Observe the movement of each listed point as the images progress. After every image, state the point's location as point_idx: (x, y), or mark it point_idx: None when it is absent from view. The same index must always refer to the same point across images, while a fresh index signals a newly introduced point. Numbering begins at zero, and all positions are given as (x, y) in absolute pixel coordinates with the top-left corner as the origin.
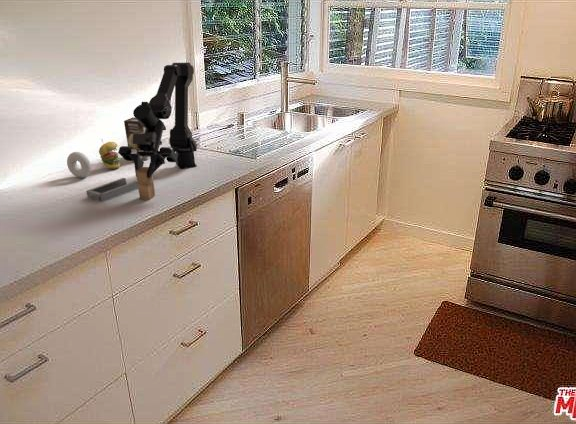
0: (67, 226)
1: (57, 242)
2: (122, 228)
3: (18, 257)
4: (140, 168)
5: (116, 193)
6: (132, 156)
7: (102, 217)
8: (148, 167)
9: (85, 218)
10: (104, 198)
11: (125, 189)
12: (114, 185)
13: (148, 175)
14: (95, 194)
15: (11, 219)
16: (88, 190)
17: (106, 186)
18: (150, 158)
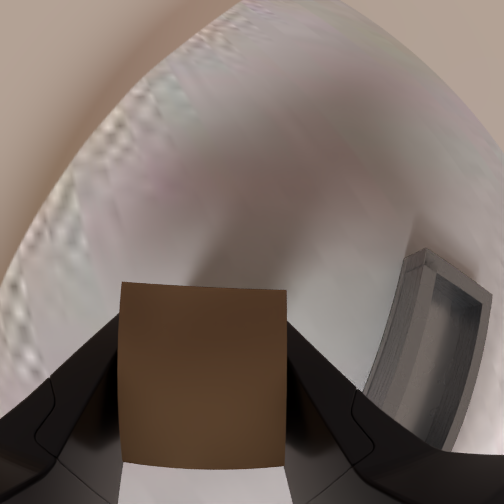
0: (360, 77)
1: (313, 23)
2: (181, 54)
3: (336, 5)
4: (259, 398)
5: (392, 339)
6: (492, 464)
7: (302, 114)
8: (153, 450)
9: (355, 113)
10: (409, 269)
11: (373, 398)
12: (440, 424)
13: (118, 313)
14: (451, 268)
15: (492, 144)
16: (488, 298)
17: (461, 381)
18: (17, 486)
